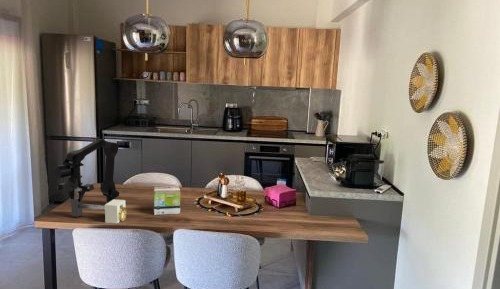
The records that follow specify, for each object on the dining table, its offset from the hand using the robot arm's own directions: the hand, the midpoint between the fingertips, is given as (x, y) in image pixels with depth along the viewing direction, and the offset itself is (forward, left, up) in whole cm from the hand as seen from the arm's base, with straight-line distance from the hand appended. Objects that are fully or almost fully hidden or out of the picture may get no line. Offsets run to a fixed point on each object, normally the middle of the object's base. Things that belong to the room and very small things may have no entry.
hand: (76, 201), depth 215 cm
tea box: (+7, +49, -9) cm, 50 cm away
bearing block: (+11, +20, -9) cm, 25 cm away
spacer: (+14, +23, -5) cm, 28 cm away
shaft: (+5, +10, -8) cm, 13 cm away
